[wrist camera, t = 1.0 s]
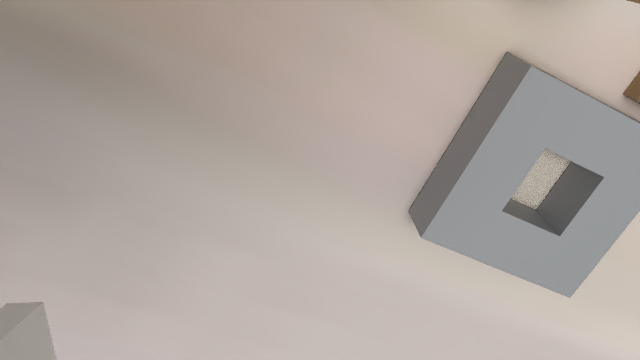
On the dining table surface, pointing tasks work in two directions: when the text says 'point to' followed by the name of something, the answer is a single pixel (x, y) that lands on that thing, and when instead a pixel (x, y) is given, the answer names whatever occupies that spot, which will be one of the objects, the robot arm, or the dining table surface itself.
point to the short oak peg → (634, 89)
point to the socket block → (515, 163)
